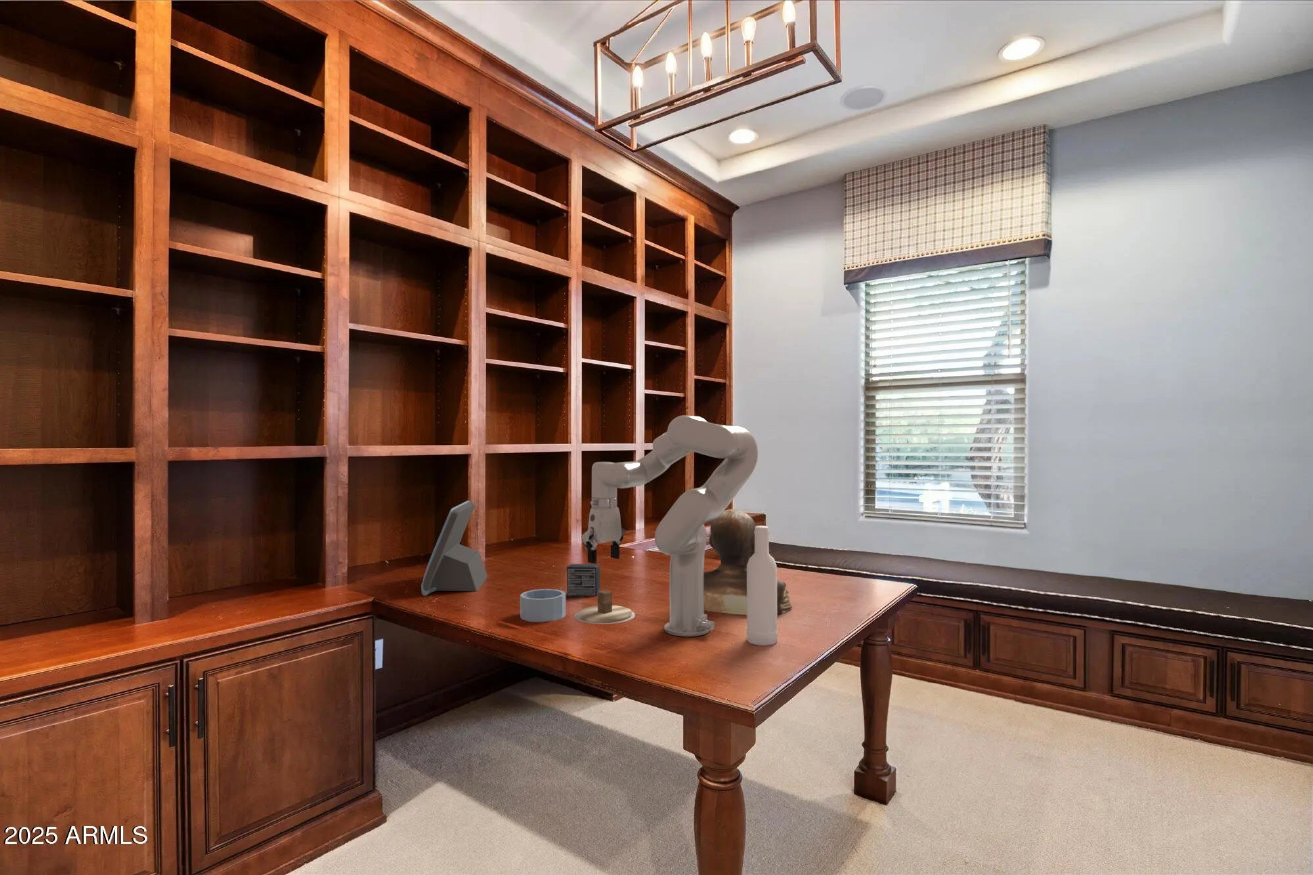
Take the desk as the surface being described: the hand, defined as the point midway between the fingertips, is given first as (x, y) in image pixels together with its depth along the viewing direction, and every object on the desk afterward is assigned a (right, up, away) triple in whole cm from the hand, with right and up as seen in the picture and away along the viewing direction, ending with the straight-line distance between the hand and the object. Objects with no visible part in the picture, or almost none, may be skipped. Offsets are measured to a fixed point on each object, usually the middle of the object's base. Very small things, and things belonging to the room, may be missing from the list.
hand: (603, 560), depth 192 cm
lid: (0, -16, 0) cm, 16 cm away
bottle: (+43, -17, -24) cm, 52 cm away
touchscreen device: (-58, -18, +45) cm, 76 cm away
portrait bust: (+41, -17, +14) cm, 47 cm away
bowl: (-18, -17, 0) cm, 25 cm away
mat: (0, -17, 0) cm, 17 cm away
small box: (-9, -17, +27) cm, 34 cm away
